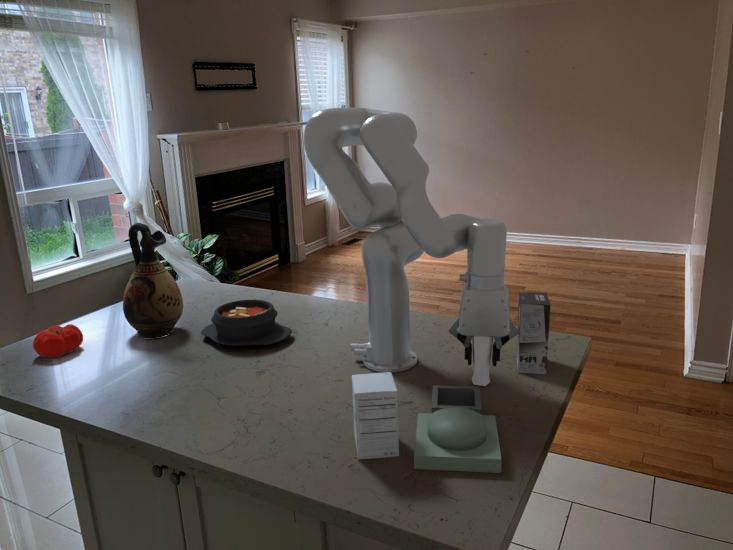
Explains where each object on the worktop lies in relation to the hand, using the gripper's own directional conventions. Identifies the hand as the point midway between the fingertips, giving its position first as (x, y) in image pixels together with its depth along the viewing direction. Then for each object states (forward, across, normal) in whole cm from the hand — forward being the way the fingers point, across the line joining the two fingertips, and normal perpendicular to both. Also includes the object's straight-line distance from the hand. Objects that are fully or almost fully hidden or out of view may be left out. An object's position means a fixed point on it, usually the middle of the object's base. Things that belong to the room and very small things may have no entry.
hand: (481, 362), depth 126 cm
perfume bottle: (+5, 0, 0) cm, 5 cm away
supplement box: (+5, -19, -26) cm, 33 cm away
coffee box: (+5, +12, +10) cm, 16 cm away
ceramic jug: (+7, -86, +26) cm, 90 cm away
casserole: (+6, -59, +23) cm, 64 cm away
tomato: (+7, -104, +11) cm, 105 cm away
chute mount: (+5, -5, -21) cm, 22 cm away
